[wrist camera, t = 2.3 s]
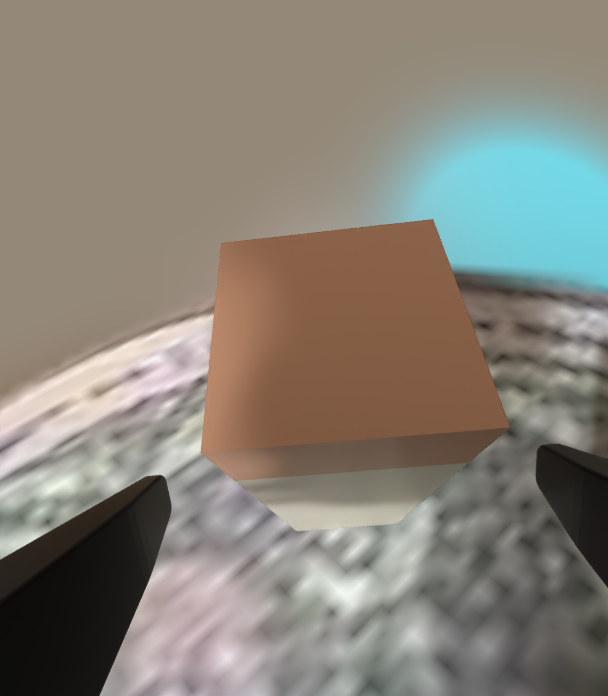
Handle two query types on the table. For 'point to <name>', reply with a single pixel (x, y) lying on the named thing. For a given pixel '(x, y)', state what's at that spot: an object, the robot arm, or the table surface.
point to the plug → (345, 374)
